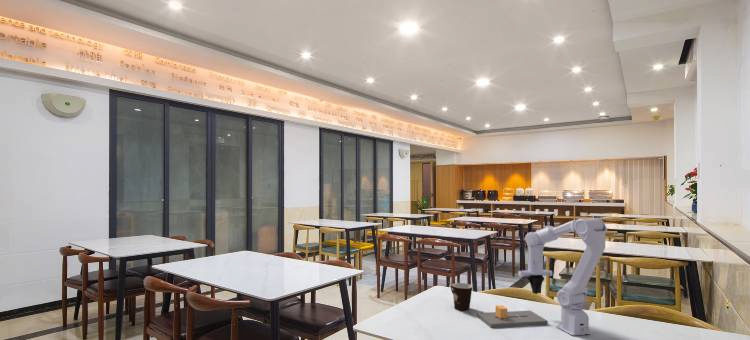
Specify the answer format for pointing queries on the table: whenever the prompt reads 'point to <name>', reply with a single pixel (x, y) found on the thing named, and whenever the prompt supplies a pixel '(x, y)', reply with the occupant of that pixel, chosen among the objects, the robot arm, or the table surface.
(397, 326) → the table surface
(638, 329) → the table surface
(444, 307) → the table surface
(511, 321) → the board
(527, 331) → the table surface
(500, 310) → the fader knob
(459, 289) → the coffee mug
